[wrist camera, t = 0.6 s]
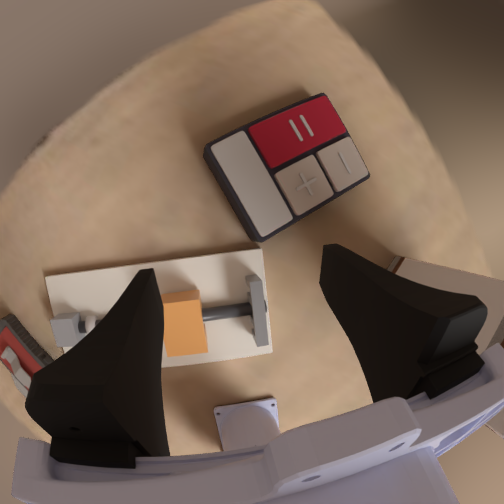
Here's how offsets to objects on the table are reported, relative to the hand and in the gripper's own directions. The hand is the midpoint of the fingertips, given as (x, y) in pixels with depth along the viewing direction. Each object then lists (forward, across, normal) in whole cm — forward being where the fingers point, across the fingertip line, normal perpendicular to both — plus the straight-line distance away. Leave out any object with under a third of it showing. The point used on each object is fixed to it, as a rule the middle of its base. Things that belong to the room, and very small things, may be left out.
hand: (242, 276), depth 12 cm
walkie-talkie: (+12, +27, +22) cm, 37 cm away
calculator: (+21, -8, +2) cm, 23 cm away
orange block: (+14, +5, +14) cm, 20 cm away
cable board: (+15, +8, +15) cm, 22 cm away
